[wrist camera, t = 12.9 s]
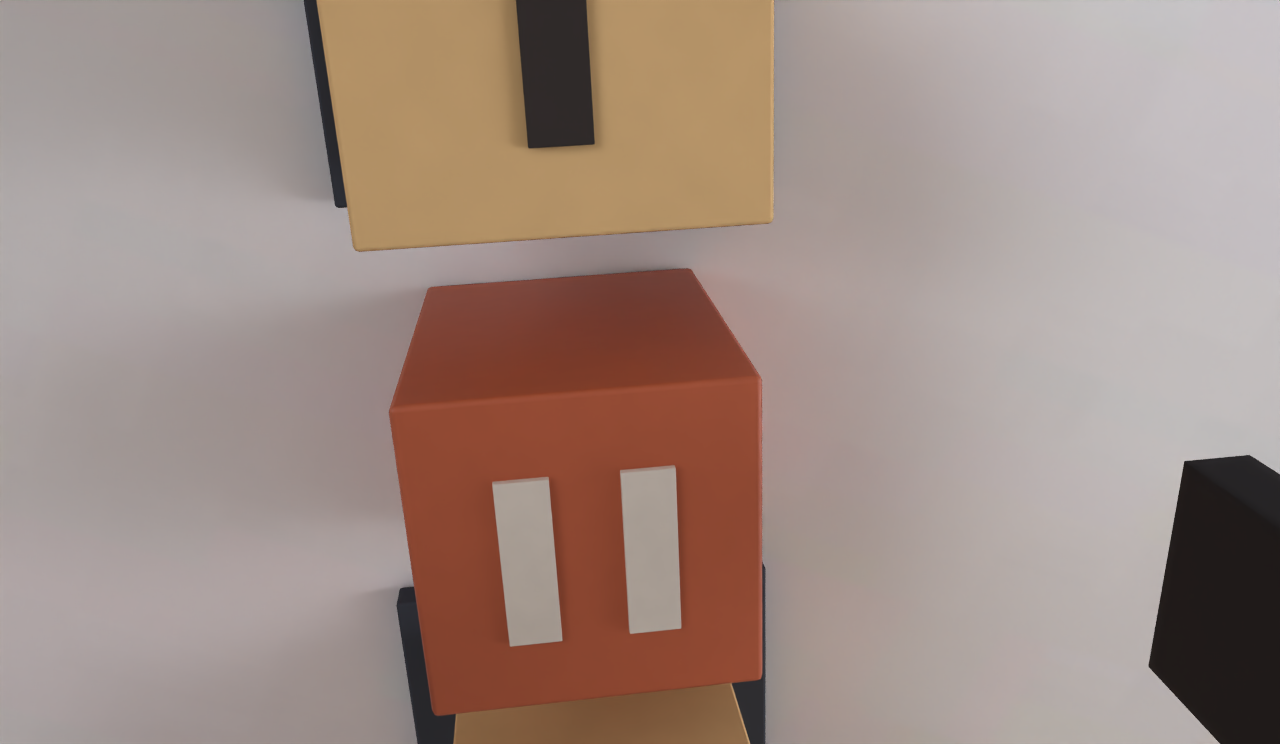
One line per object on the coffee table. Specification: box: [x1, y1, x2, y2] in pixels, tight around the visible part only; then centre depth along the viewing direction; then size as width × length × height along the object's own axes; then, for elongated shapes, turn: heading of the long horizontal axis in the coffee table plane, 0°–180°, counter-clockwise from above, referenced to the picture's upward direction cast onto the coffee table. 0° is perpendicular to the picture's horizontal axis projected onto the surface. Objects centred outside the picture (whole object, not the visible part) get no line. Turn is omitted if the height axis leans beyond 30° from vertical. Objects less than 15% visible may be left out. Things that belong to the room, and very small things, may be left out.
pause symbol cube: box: [389, 268, 762, 716], centre depth 15 cm, size 5×5×6 cm
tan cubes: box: [304, 0, 774, 744], centre depth 15 cm, size 19×7×6 cm, turn 3°
